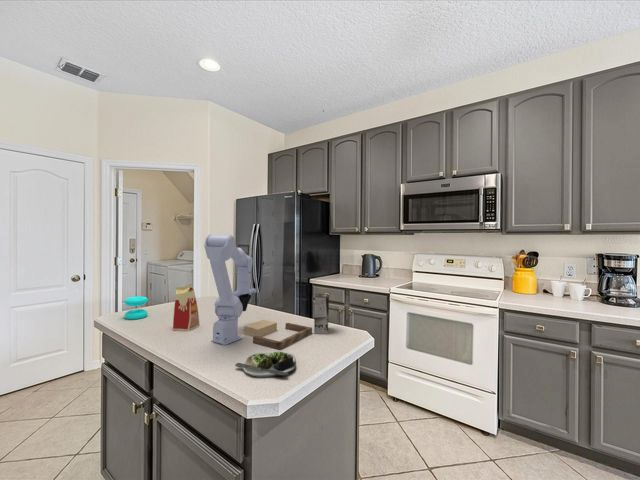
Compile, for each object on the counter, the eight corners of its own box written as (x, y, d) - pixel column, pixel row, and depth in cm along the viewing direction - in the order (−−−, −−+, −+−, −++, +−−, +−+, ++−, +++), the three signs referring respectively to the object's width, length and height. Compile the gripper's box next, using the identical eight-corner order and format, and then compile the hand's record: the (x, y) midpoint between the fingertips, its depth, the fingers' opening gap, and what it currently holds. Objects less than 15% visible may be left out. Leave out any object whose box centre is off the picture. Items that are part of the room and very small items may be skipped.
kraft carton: (257, 338, 125) (258, 329, 125) (244, 335, 129) (244, 326, 129) (276, 331, 135) (276, 322, 135) (263, 328, 139) (263, 319, 139)
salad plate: (230, 382, 88) (230, 366, 88) (240, 357, 105) (240, 344, 105) (296, 380, 90) (296, 365, 89) (295, 356, 107) (295, 343, 107)
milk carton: (199, 325, 140) (200, 282, 140) (189, 331, 131) (189, 286, 131) (181, 324, 141) (181, 282, 141) (169, 330, 132) (170, 285, 132)
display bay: (279, 350, 112) (279, 343, 112) (252, 342, 119) (252, 336, 119) (312, 333, 132) (312, 327, 132) (287, 328, 139) (287, 322, 139)
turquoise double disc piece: (120, 298, 150) (141, 295, 158) (120, 318, 150) (141, 313, 158) (130, 300, 144) (151, 297, 153) (130, 321, 145) (151, 316, 153)
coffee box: (328, 334, 131) (329, 297, 131) (313, 333, 131) (314, 297, 131) (328, 327, 140) (328, 293, 140) (314, 327, 140) (315, 293, 140)
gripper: (248, 278, 145) (248, 306, 145) (225, 282, 133) (225, 313, 133) (259, 280, 142) (259, 308, 142) (236, 284, 129) (236, 315, 129)
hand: (243, 310), depth 137 cm, fingers closed
